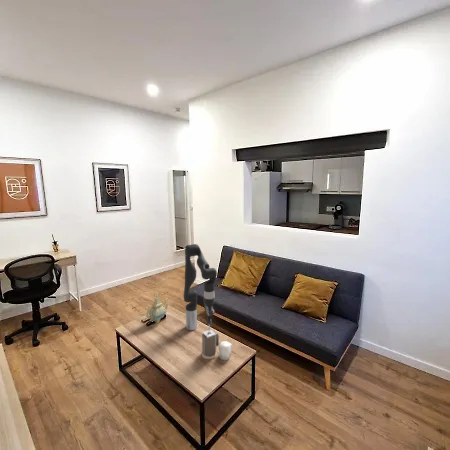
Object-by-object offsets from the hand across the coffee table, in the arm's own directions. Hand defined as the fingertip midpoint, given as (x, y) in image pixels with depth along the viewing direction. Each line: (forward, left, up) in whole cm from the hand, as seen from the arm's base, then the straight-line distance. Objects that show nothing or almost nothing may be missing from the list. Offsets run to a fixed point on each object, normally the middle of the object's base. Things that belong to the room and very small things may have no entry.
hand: (209, 319), depth 176 cm
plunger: (0, 0, -18) cm, 18 cm away
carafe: (0, 0, -27) cm, 27 cm away
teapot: (-60, -18, -27) cm, 68 cm away
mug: (+8, +8, -27) cm, 29 cm away
